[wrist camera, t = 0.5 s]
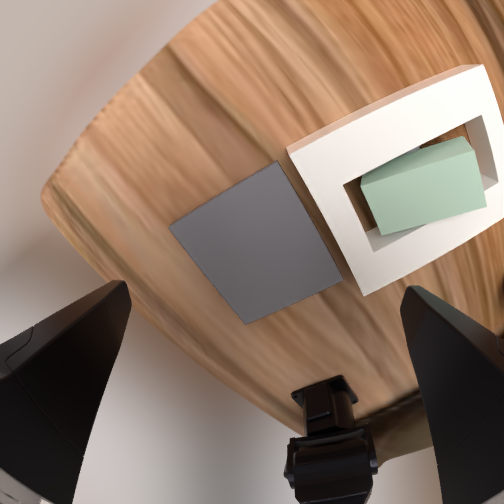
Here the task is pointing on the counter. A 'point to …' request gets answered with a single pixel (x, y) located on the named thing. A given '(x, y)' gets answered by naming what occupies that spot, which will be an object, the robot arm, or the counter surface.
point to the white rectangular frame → (391, 146)
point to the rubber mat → (258, 245)
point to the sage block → (424, 186)
